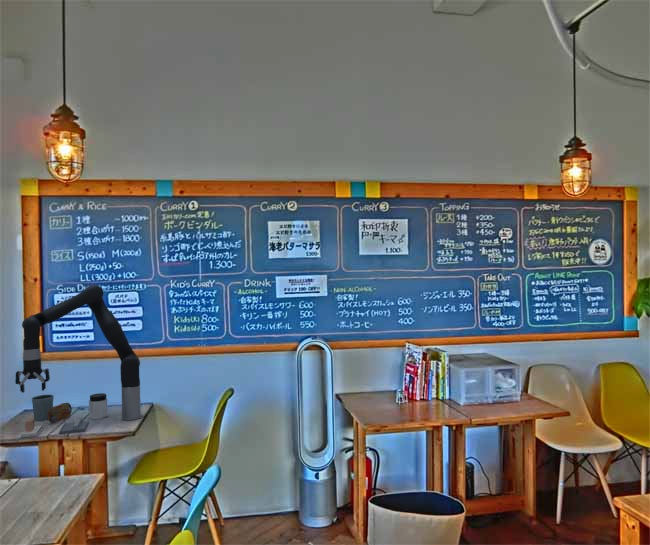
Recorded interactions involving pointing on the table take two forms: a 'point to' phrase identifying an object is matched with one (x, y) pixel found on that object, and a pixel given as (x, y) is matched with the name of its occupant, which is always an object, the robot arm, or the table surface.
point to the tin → (59, 412)
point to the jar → (98, 406)
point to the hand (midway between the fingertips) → (33, 391)
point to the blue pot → (42, 406)
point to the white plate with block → (31, 429)
